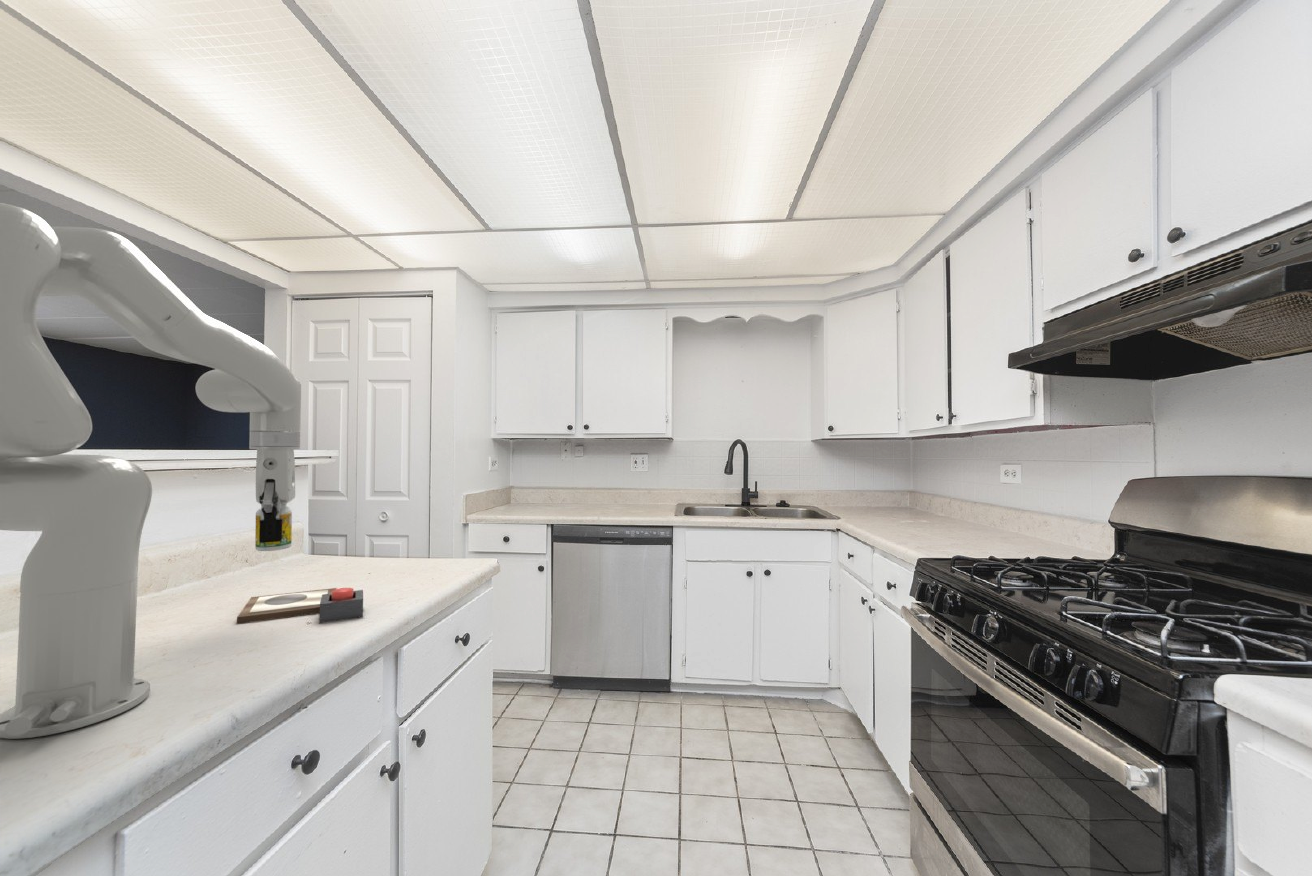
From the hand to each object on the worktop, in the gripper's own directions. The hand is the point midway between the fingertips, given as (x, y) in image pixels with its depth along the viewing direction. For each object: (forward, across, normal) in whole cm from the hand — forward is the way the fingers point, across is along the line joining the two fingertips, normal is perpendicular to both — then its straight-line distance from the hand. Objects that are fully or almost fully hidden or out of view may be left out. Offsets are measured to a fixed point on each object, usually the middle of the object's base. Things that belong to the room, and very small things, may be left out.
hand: (273, 537), depth 92 cm
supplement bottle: (+2, 0, 0) cm, 2 cm away
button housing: (+16, 0, -11) cm, 19 cm away
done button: (+14, 0, -11) cm, 18 cm away
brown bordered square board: (+16, +9, -2) cm, 19 cm away
